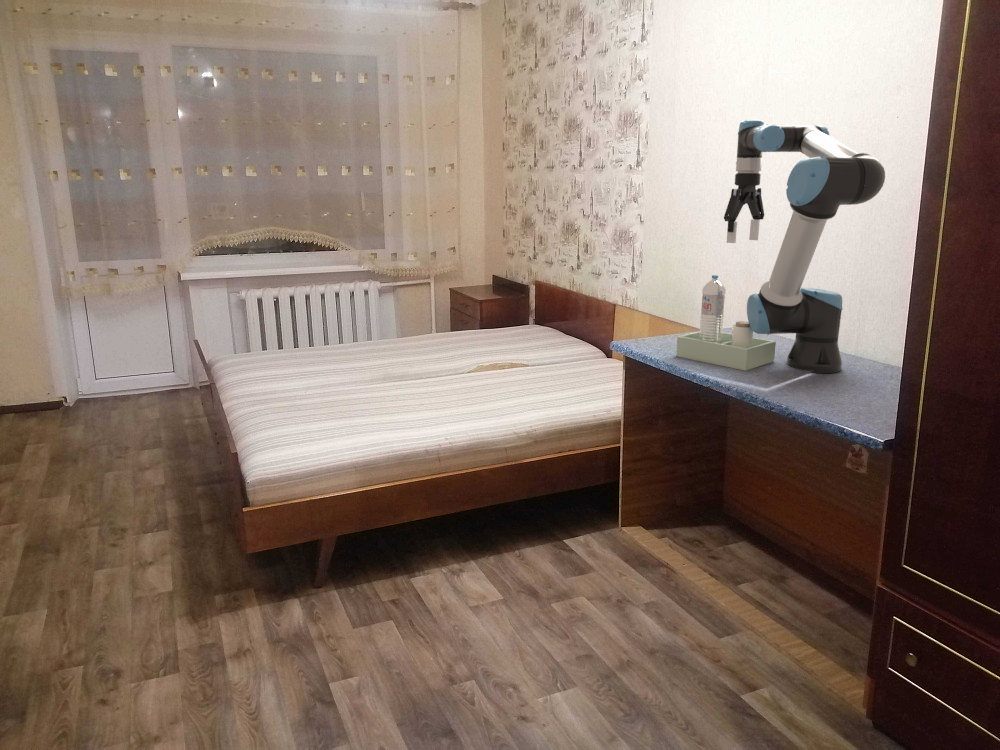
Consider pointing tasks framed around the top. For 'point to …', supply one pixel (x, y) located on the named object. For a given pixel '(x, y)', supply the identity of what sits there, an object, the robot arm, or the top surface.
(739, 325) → the jar
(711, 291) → the water bottle
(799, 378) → the top surface
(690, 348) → the tote
